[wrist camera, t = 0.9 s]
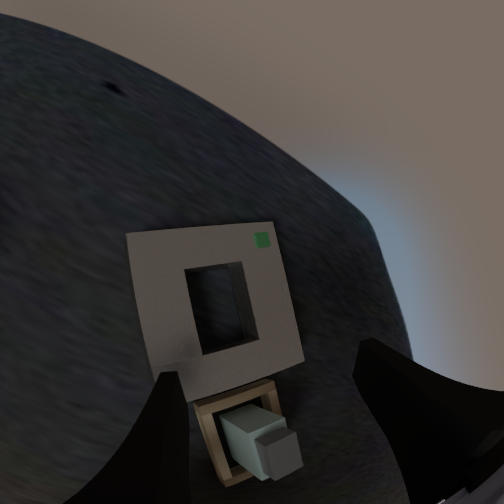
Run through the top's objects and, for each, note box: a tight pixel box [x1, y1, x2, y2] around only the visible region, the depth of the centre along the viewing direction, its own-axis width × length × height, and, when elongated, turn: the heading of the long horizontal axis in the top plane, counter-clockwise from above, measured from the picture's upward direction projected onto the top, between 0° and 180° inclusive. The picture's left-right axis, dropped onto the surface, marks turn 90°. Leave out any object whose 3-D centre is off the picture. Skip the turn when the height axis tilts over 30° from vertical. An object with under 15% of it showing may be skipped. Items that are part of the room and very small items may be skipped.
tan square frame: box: [193, 379, 282, 487], centre depth 20 cm, size 8×7×2 cm
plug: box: [219, 404, 303, 481], centre depth 18 cm, size 4×3×6 cm, turn 14°
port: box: [124, 222, 305, 402], centre depth 21 cm, size 12×12×3 cm
